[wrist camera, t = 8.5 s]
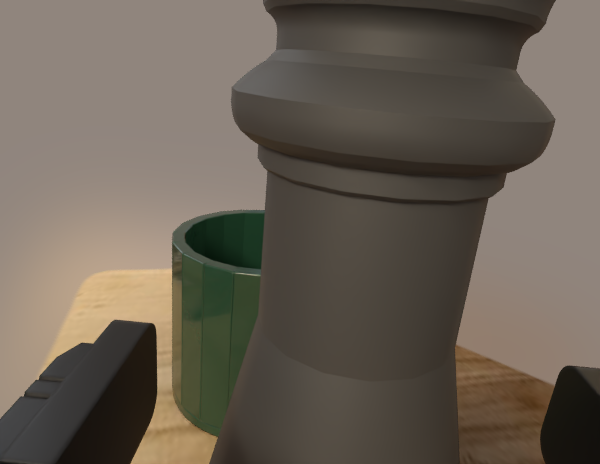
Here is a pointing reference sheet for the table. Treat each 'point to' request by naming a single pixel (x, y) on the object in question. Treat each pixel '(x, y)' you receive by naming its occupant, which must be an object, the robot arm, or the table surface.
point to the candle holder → (374, 219)
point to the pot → (213, 309)
